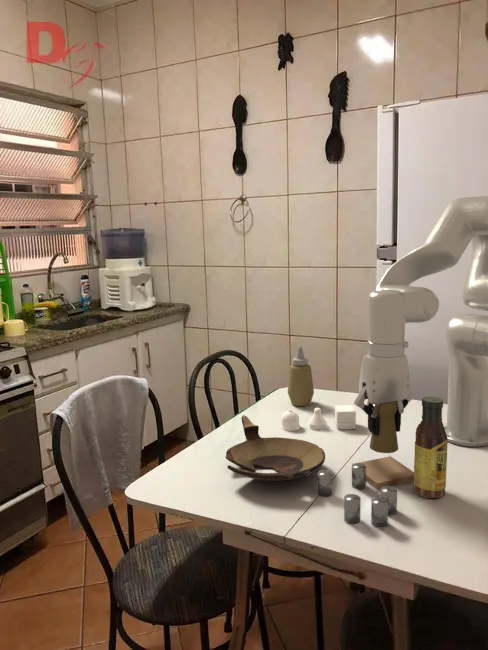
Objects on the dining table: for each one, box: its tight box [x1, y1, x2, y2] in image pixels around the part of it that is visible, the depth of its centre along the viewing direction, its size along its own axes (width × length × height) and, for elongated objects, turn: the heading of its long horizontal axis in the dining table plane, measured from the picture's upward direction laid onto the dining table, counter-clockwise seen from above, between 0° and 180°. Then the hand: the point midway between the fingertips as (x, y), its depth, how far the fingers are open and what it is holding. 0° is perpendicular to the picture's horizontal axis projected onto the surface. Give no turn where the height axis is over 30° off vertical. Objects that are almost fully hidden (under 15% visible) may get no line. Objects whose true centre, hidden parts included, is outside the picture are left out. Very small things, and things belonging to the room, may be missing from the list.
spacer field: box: [317, 462, 398, 529], centre depth 107 cm, size 11×17×4 cm, turn 19°
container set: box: [280, 404, 357, 432], centre depth 148 cm, size 20×5×6 cm, turn 87°
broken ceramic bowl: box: [225, 414, 326, 482], centre depth 124 cm, size 22×30×8 cm
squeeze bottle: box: [287, 346, 315, 407], centre depth 165 cm, size 8×8×18 cm
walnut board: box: [351, 455, 414, 491], centre depth 119 cm, size 10×10×2 cm
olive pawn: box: [369, 402, 399, 454], centre depth 117 cm, size 6×6×11 cm
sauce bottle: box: [413, 396, 449, 499], centre depth 109 cm, size 6×6×20 cm
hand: (384, 430), depth 117 cm, fingers closed on olive pawn, 4 cm apart
